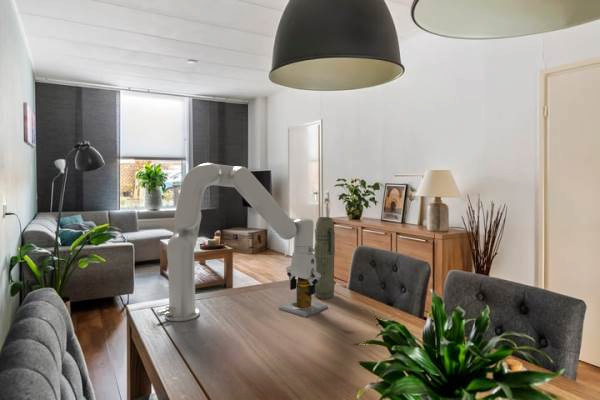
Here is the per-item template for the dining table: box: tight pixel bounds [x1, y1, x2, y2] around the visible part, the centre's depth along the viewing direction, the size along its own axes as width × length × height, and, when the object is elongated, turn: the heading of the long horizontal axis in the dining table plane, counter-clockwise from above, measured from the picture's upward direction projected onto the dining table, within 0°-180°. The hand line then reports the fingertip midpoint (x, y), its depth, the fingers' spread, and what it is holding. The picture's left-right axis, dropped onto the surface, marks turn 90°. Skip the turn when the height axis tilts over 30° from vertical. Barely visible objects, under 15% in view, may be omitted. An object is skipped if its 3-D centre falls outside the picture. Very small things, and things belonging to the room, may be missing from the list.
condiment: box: [289, 277, 314, 309], centre depth 154 cm, size 7×8×12 cm
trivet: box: [278, 299, 329, 318], centre depth 154 cm, size 14×14×1 cm
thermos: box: [313, 216, 336, 300], centre depth 169 cm, size 9×12×35 cm
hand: (302, 291), depth 154 cm, fingers open, 9 cm apart
